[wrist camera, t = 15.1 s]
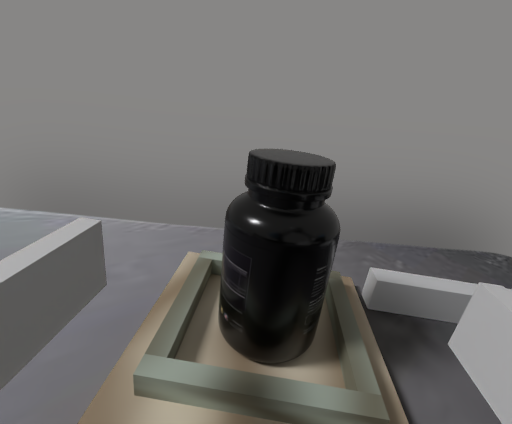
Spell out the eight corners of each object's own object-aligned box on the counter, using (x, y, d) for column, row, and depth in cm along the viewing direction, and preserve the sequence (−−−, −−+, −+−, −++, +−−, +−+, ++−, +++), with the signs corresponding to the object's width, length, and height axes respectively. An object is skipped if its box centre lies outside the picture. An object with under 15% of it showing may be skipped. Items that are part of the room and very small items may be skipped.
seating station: (348, 286, 27) (354, 264, 26) (428, 508, 12) (450, 475, 11) (188, 260, 28) (189, 238, 27) (77, 440, 13) (70, 405, 12)
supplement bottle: (282, 287, 24) (309, 147, 19) (334, 350, 18) (389, 173, 14) (204, 303, 21) (215, 141, 16) (236, 384, 15) (267, 170, 11)
